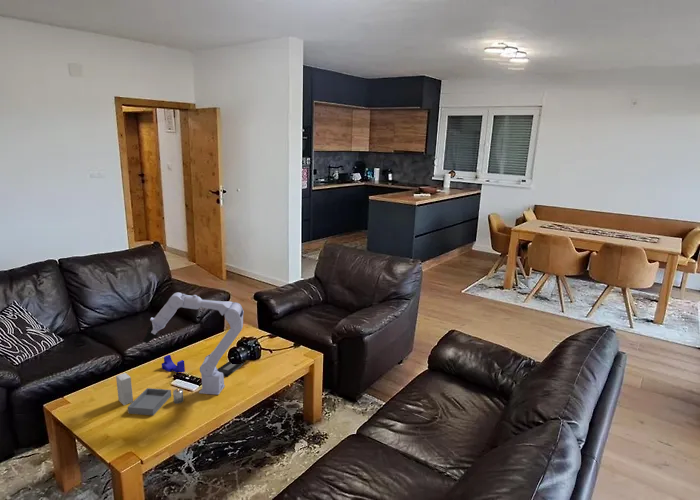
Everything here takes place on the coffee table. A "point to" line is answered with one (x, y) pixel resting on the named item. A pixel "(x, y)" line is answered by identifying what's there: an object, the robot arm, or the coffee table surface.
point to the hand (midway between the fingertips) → (147, 337)
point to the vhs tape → (229, 368)
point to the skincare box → (124, 388)
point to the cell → (178, 396)
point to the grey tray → (149, 401)
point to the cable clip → (173, 365)
